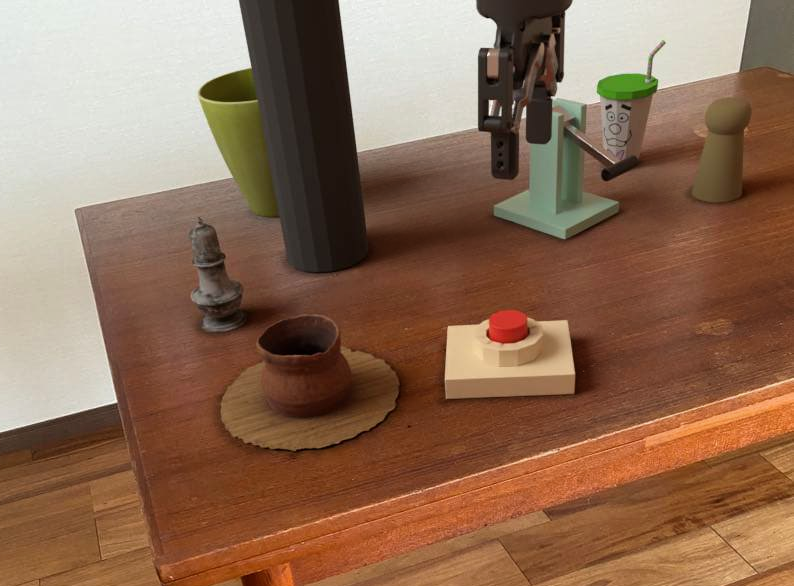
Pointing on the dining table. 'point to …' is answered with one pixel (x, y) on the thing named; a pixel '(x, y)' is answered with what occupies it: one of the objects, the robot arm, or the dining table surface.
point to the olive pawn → (723, 151)
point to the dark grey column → (308, 129)
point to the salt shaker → (214, 283)
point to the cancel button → (508, 327)
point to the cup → (626, 109)
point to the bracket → (558, 184)
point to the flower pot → (241, 136)
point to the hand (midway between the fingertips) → (522, 159)
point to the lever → (596, 149)
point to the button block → (509, 362)
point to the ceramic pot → (307, 388)
